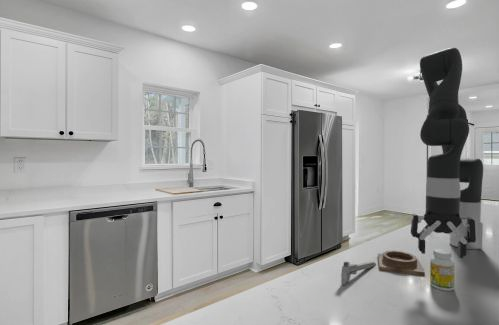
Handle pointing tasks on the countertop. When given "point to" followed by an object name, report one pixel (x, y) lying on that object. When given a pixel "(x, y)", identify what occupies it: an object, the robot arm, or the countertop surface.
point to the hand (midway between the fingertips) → (441, 254)
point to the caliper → (353, 270)
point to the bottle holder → (400, 262)
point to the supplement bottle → (442, 270)
